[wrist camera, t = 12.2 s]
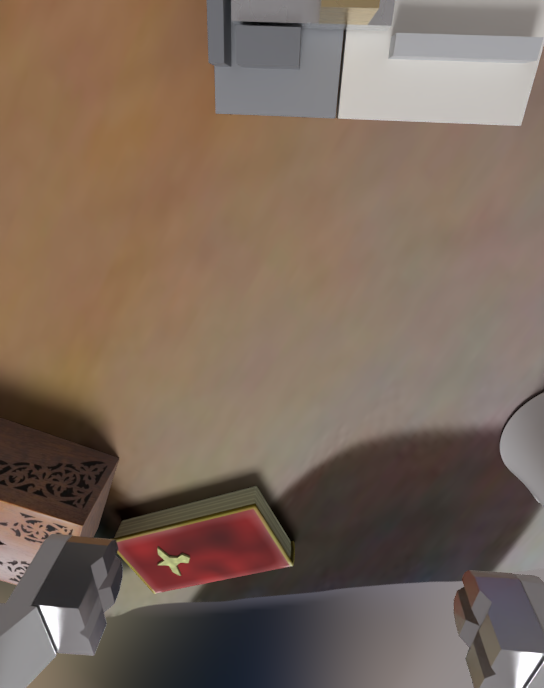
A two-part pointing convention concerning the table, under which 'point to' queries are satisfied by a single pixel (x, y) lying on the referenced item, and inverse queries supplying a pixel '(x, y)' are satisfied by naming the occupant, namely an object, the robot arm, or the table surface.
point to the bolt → (315, 14)
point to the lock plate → (385, 64)
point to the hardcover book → (205, 541)
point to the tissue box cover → (46, 492)
